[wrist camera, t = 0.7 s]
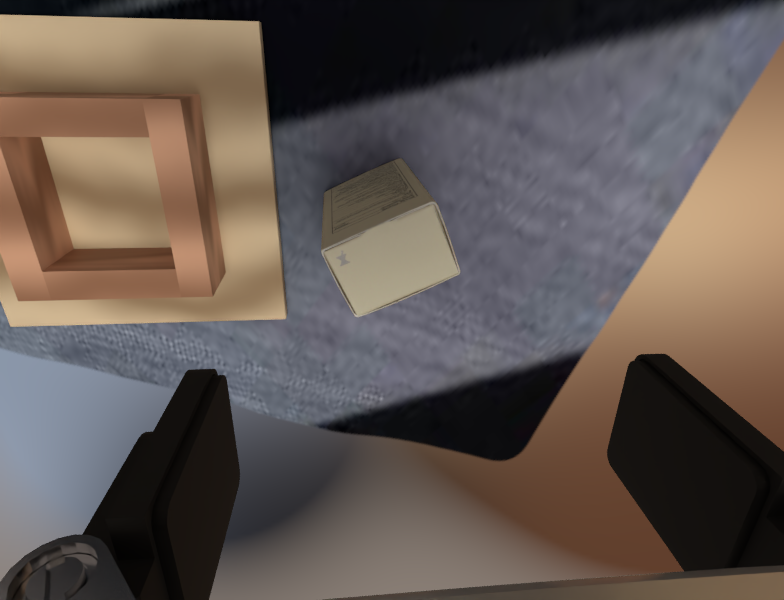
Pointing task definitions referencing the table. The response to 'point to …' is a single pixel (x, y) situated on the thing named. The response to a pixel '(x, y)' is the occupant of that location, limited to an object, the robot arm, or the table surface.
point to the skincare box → (385, 238)
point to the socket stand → (136, 172)
